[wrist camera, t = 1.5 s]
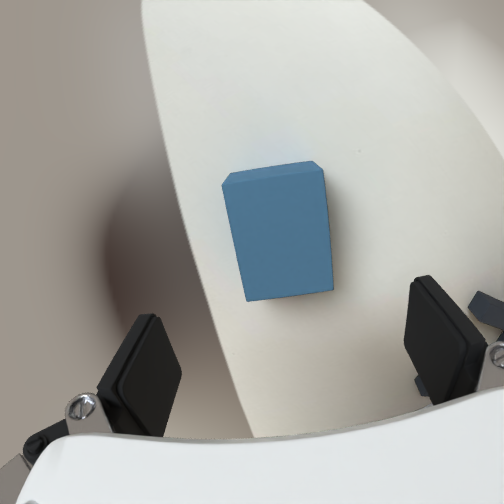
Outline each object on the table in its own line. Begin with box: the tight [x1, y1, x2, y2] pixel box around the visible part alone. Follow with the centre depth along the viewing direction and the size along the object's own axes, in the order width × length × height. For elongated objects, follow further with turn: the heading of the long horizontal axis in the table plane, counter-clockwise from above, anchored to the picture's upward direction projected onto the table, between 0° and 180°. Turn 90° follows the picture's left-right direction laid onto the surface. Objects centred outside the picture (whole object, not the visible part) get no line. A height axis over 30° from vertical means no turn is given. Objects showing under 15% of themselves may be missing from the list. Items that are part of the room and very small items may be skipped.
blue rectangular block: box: [222, 161, 334, 302], centre depth 19 cm, size 6×8×4 cm
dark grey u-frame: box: [415, 291, 504, 397], centre depth 25 cm, size 12×14×2 cm
